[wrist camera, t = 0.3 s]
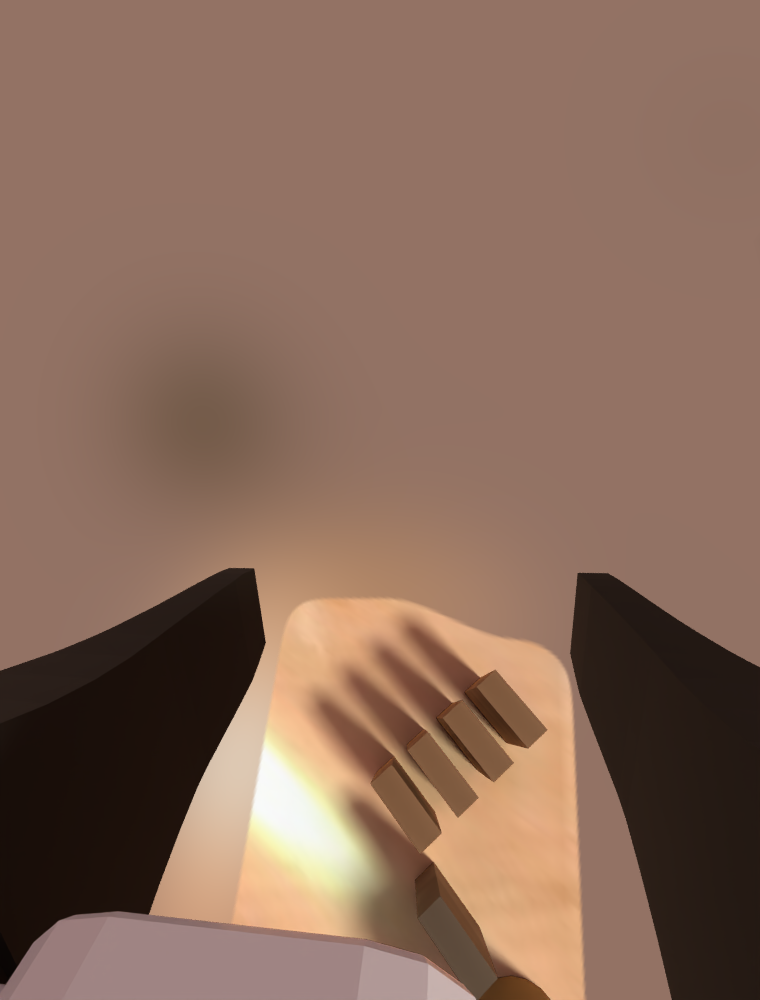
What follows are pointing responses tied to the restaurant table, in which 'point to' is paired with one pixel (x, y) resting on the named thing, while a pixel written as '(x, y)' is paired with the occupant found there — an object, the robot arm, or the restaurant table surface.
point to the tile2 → (406, 804)
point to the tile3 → (441, 772)
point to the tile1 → (454, 931)
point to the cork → (513, 990)
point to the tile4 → (474, 740)
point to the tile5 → (505, 710)
